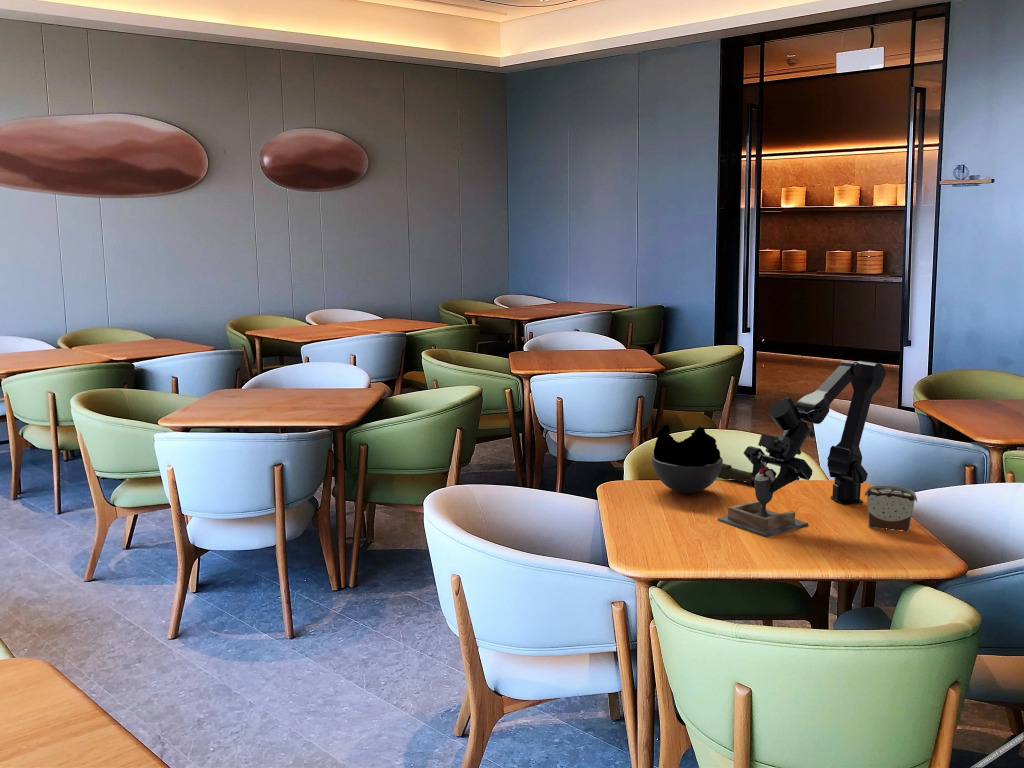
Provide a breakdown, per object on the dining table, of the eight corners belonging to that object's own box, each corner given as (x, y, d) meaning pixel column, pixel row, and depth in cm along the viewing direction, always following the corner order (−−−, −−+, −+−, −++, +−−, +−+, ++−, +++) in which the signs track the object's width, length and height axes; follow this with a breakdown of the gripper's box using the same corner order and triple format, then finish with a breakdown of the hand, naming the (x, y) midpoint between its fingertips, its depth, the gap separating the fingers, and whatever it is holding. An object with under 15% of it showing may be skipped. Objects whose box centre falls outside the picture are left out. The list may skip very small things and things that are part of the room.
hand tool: (770, 487, 274) (771, 472, 273) (762, 490, 271) (763, 474, 270) (718, 474, 288) (718, 460, 287) (710, 476, 285) (710, 462, 285)
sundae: (752, 520, 238) (754, 463, 235) (748, 512, 244) (750, 456, 242) (779, 520, 237) (781, 463, 235) (773, 512, 244) (775, 456, 241)
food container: (915, 526, 238) (918, 488, 236) (915, 533, 232) (917, 494, 231) (864, 519, 243) (866, 482, 241) (862, 526, 237) (864, 488, 236)
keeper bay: (759, 509, 252) (760, 496, 251) (808, 525, 239) (808, 511, 238) (717, 520, 243) (718, 506, 243) (765, 537, 230) (765, 523, 229)
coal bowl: (736, 495, 266) (739, 430, 262) (682, 506, 255) (684, 439, 252) (689, 478, 282) (691, 417, 279) (637, 488, 272) (638, 425, 269)
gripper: (749, 416, 246) (718, 463, 242) (806, 428, 231) (774, 479, 227) (768, 440, 252) (739, 487, 248) (826, 454, 237) (795, 504, 233)
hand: (760, 488), depth 239 cm, fingers closed on sundae, 6 cm apart
